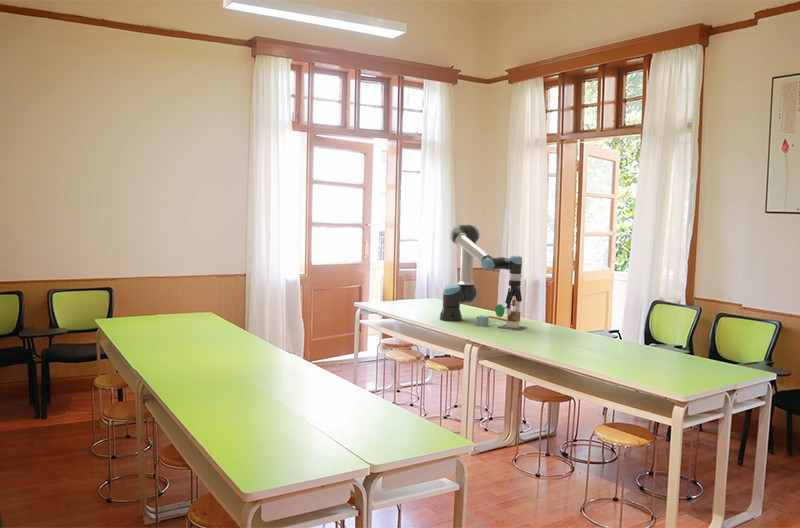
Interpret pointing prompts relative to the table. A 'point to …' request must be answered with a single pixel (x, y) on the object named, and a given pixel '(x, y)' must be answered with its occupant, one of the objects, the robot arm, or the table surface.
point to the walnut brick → (514, 316)
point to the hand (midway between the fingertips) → (512, 312)
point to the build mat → (513, 325)
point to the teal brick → (482, 320)
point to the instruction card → (500, 324)
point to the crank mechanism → (501, 311)
